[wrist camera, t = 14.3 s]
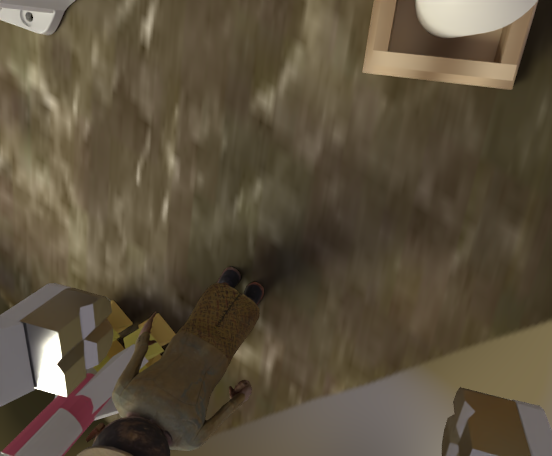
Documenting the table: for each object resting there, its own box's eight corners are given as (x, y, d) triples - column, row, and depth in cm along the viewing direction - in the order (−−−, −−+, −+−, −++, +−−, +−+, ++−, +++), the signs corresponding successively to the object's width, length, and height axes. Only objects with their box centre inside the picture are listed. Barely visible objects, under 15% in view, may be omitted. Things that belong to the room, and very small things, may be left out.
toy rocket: (136, 393, 59) (-93, 686, 32) (76, 324, 57) (-220, 573, 30) (198, 361, 53) (-14, 679, 27) (135, 284, 52) (-160, 542, 25)
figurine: (179, 299, 50) (-80, 584, 24) (213, 238, 46) (-57, 503, 20) (261, 353, 50) (91, 704, 23) (303, 297, 46) (153, 648, 19)
